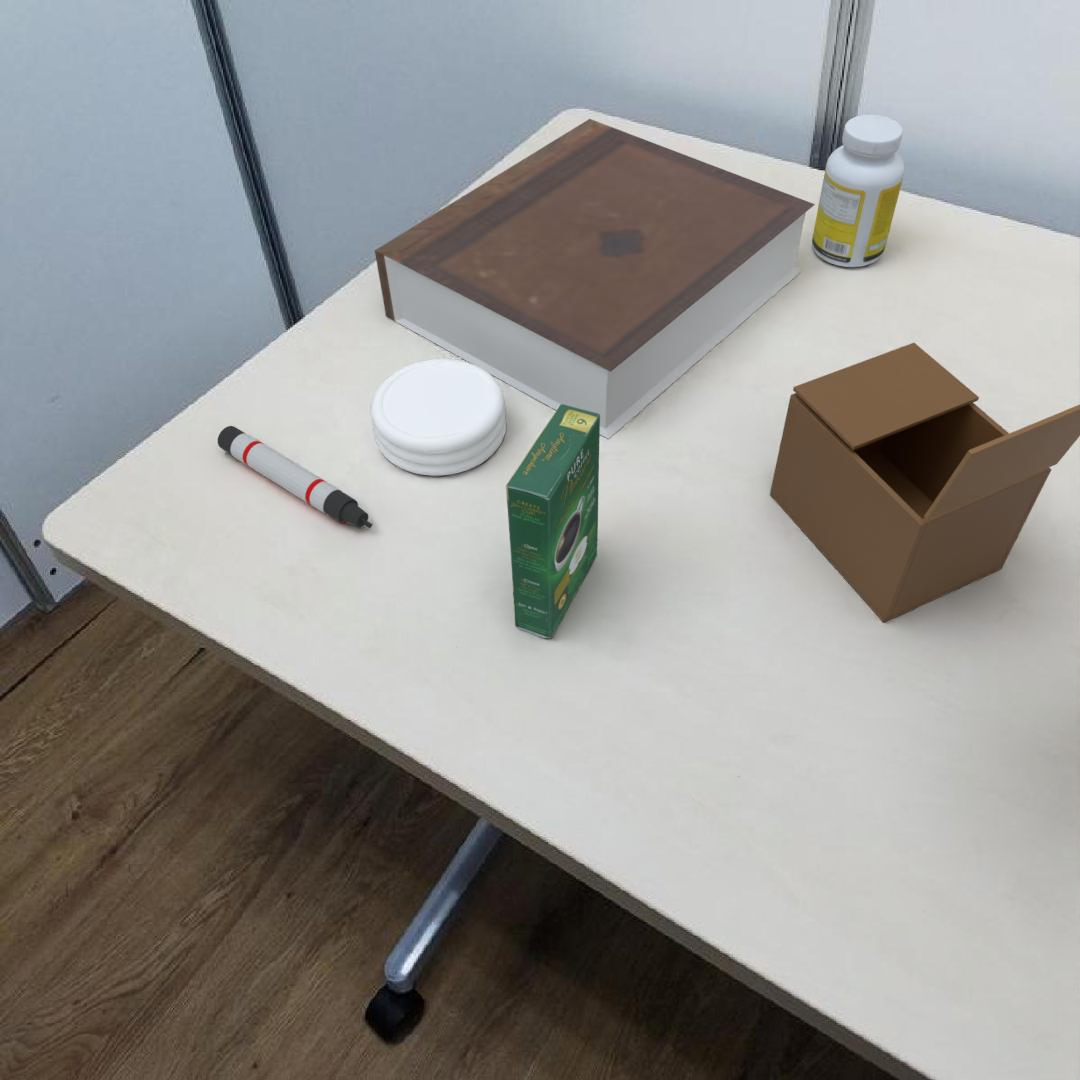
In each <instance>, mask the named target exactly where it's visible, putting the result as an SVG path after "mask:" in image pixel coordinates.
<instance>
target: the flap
mask: <svg viewBox="0 0 1080 1080" xmlns="http://www.w3.org/2000/svg"><path fill="white" fill-rule="evenodd" d="M1008 433H1009V434H1007V435H1004V436H1002V437H1000V438H997V439H995V440H992V441H990V442H987V443H985V444H983V445H980V446H978V447H975V448H973V449H970V450H969V451H968V452H967V454H966V455H965V456H964V458H963V459H962V461H961V462H960V464H959V465H958V467H957V468H956V470H955V471H954V473H953V474H952V476H951V477H950V479H949V480H948V482H947V483H946V484H945V486H944V487H943V489H942V490H941V492H940V493H939V495H938V496H937V498H936V499H935V501H934V502H933V504H932V505H931V507H930V508H929V509H928V511H927V512H926V514H925V515H924V517H925V518H926V519H927V520H928V519H930V518H933V517H935V516H937V515H940V514H942V513H944V512H947V511H949V510H951V509H954V508H956V507H958V506H961V505H963V504H965V503H968V502H970V501H972V500H975V499H977V498H979V497H982V496H984V495H986V494H989V493H991V492H993V491H996V490H998V489H1000V488H1003V487H1005V486H1007V485H1009V484H1012V483H1014V482H1016V481H1019V480H1021V479H1023V478H1026V477H1028V476H1030V475H1033V474H1035V473H1037V472H1040V471H1042V470H1044V469H1047V468H1051V467H1054V466H1057V465H1058V463H1059V462H1060V461H1061V460H1062V459H1063V457H1064V456H1065V455H1066V453H1068V451H1069V450H1070V449H1071V448H1072V446H1074V444H1075V443H1076V441H1077V440H1078V439H1079V438H1080V404H1077V405H1074V406H1073V407H1070V408H1068V409H1065V410H1063V411H1061V412H1058V413H1055V414H1053V415H1050V416H1047V417H1046V418H1043V419H1040V420H1038V421H1036V422H1034V423H1031V424H1028V425H1025V426H1024V427H1022V428H1019V429H1017V430H1015V431H1012V432H1008Z"/></svg>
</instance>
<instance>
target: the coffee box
mask: <svg viewBox="0 0 1080 1080" xmlns="http://www.w3.org/2000/svg"><path fill="white" fill-rule="evenodd" d="M599 433H600V414H598V413H594V412H590V411H586V410H582V409H579V408H575V407H571V406H567V405H563V404H561V405H560V406H559V407H558V409H557V410H555V411H554V413H553V414H552V416H551V418H550V419H549V420H548V422H547V424H546V425H545V427H544V428H543V429H542V431H541V433H540V434H539V436H538V437H537V438H536V440H535V441H534V443H533V444H532V446H531V448H530V449H529V450H528V452H527V453H526V455H525V456H524V458H523V459H522V461H521V462H520V464H519V465H518V467H517V468H516V469H515V471H514V473H513V475H512V476H511V477H510V479H509V480H508V482H507V483H506V485H505V491H506V493H505V494H506V505H507V518H508V533H509V534H508V535H509V546H510V547H509V548H510V565H511V574H512V575H511V578H512V597H513V612H514V626H515V628H517V629H519V630H520V631H524V632H526V633H530V634H531V635H533V636H537V637H539V638H543V639H552V638H553V636H554V634H555V632H556V631H557V628H558V627H559V625H560V624H561V622H562V621H563V619H564V617H565V615H566V612H567V611H568V609H569V607H570V604H571V603H572V601H573V599H574V597H575V596H576V594H577V593H578V590H579V589H580V587H581V586H582V584H583V581H584V579H586V577H587V575H588V572H589V571H590V569H591V567H592V565H593V564H594V561H595V559H596V558H597V556H598V540H599V539H598V534H599V533H598V532H599V530H598V529H599V486H600V484H599V481H600V480H599V479H600V477H599V476H600V474H599V473H600V434H599Z"/></svg>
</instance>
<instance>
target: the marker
mask: <svg viewBox="0 0 1080 1080" xmlns="http://www.w3.org/2000/svg"><path fill="white" fill-rule="evenodd" d="M217 445H218V447H219V448H220V449H221V450H223V451H225V452H227V453H228V454H229V455H231V456H232V457H233V458H235V459H237V460H238V461H240V462H241V463H243V464H245V465H246V466H248V467H249V468H251V469H252V470H254V471H256V473H259V474H261V475H262V476H264V477H265V478H267V479H269V480H270V481H272V482H273V483H275V484H276V485H278V486H280V487H281V488H283V489H285V490H286V491H287V492H290V493H291V494H293V495H294V496H295V497H297V498H299V499H301V500H302V501H304V502H305V503H307V504H308V505H311V506H312V507H313V508H315V509H316V510H318V511H320V512H321V513H323V514H325V515H328V516H329V517H330V518H332V519H334V520H335V521H336V522H338V523H340V524H342V525H343V524H350V525H352V526H354V527H357V528H358V529H359V528H363V527H366V528H368V529H372V527H373V523H372V522H370V521H369V513H368V512H367V511H365V510H364V509H362V507H360V506H359V503H358V501H357V500H356V499H355V498H353V497H351V496H350V495H348V494H347V493H345V492H344V491H342V490H341V489H339V488H338V487H336V486H334V485H333V484H331V483H329V482H328V481H326V480H325V479H323V478H321V477H319V476H318V475H316V474H315V473H313V472H311V471H309V470H308V469H306V468H305V467H303V466H301V465H300V464H298V463H297V462H295V461H294V460H292V459H290V458H289V457H287V456H286V455H283V454H282V453H280V452H278V451H276V449H273V448H271V447H270V446H269V445H267V444H265V443H263V442H262V441H260V440H258V438H257V439H256V438H255V437H254V436H252V435H250V434H248V433H246V432H244V431H242V430H241V429H239V428H238V427H236V426H234V425H228V426H225V427H224V428H223V429H222V430H221V431H220V432H219V434H218V437H217Z"/></svg>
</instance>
